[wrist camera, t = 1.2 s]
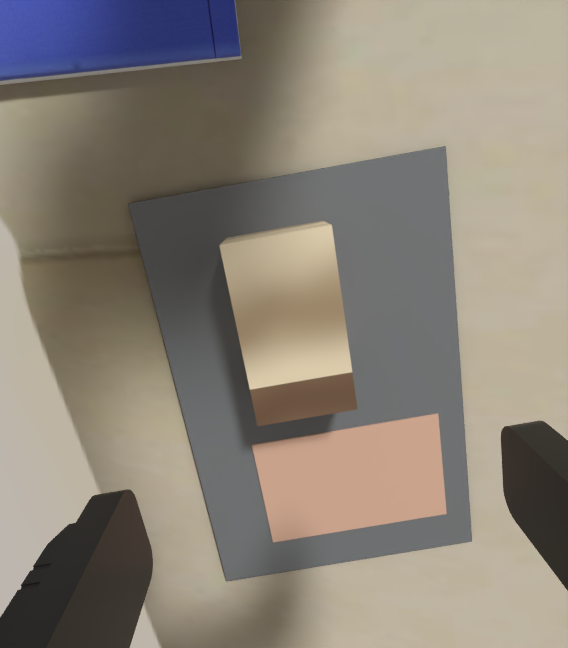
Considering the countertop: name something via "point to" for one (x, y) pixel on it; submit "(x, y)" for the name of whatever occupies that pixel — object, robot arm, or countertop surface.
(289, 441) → the rubber mat
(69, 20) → the hard drive
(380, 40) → the countertop surface
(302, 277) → the beige rectangular block
